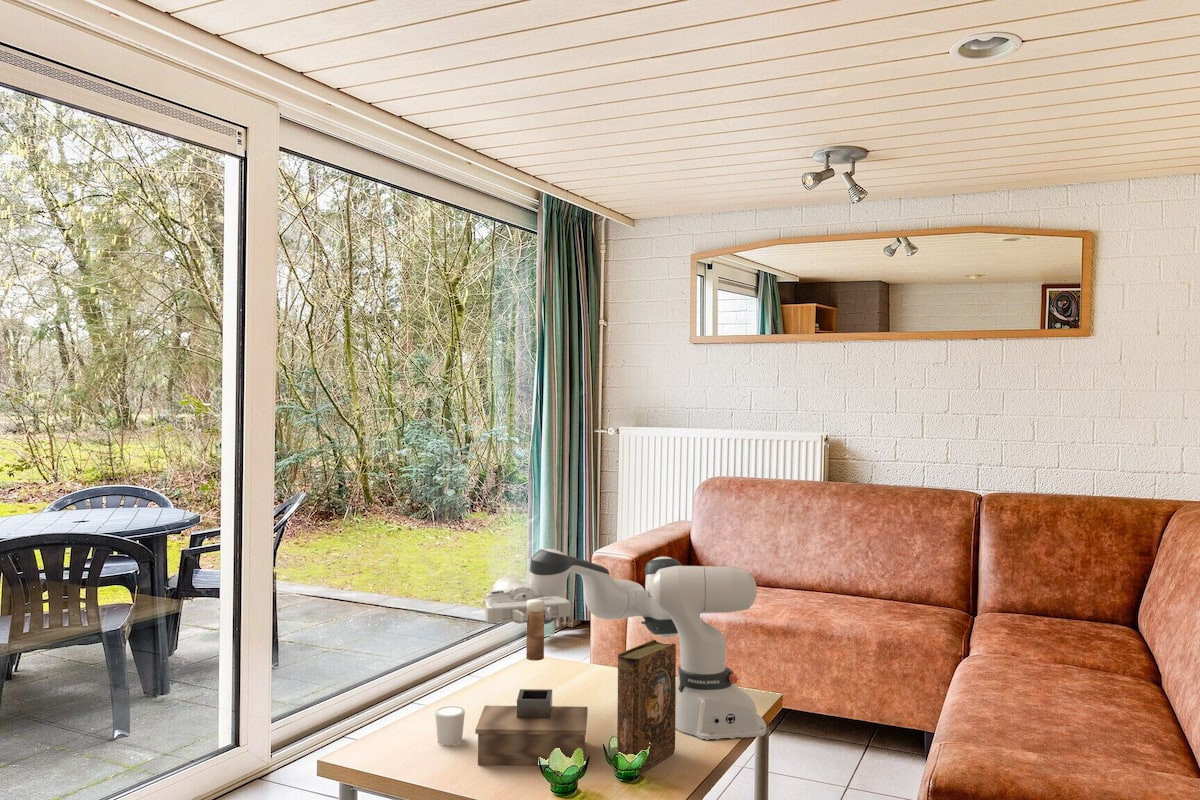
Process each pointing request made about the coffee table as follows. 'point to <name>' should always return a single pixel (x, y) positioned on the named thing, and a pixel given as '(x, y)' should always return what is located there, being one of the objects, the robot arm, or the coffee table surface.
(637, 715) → the book
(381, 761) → the coffee table surface
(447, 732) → the white cup
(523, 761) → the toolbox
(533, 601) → the white tipped wooden peg
